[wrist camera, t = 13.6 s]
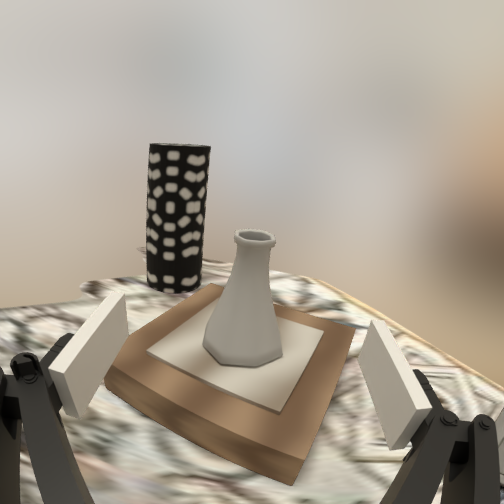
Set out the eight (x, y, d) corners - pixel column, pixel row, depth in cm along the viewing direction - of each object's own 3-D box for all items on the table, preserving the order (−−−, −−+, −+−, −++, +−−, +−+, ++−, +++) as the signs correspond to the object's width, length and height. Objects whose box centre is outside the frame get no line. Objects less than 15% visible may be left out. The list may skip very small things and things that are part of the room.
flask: (296, 362, 25) (320, 251, 22) (211, 374, 23) (219, 253, 19) (265, 317, 31) (279, 222, 28) (194, 323, 29) (199, 220, 26)
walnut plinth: (106, 387, 24) (97, 351, 23) (209, 310, 40) (211, 280, 38) (291, 485, 18) (306, 457, 16) (346, 357, 33) (356, 325, 32)
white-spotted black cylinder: (154, 266, 50) (158, 142, 43) (203, 271, 51) (213, 145, 44) (140, 290, 42) (141, 144, 36) (197, 296, 43) (207, 147, 36)
